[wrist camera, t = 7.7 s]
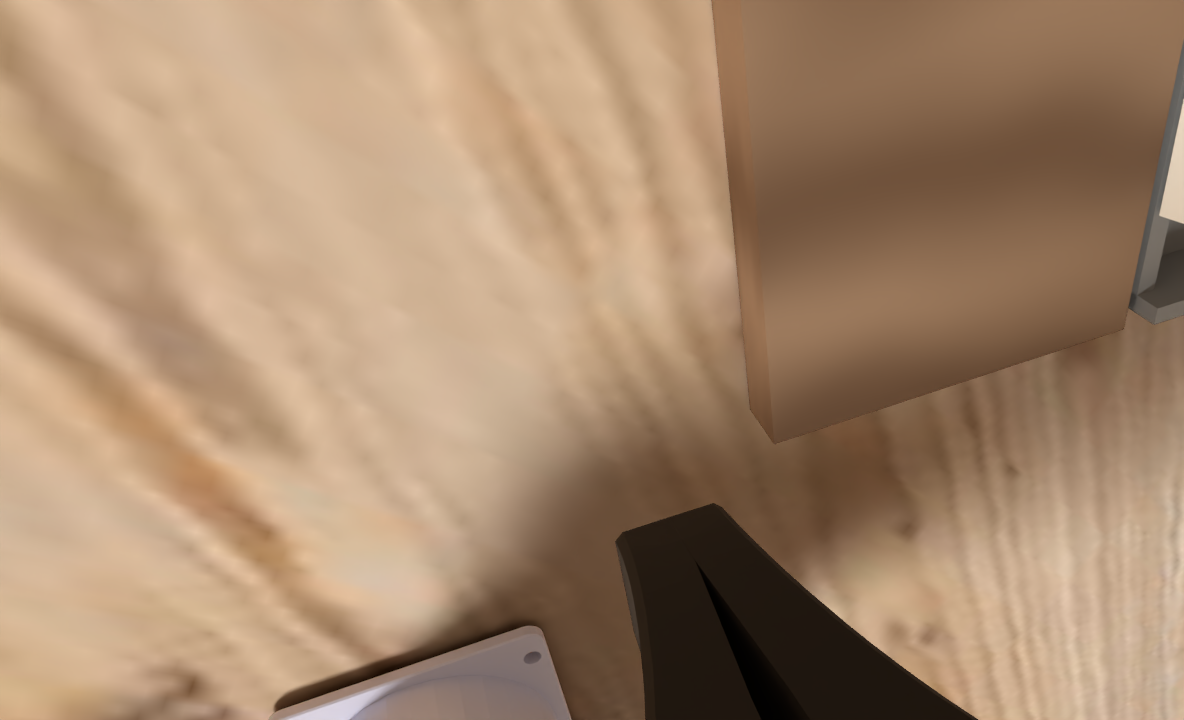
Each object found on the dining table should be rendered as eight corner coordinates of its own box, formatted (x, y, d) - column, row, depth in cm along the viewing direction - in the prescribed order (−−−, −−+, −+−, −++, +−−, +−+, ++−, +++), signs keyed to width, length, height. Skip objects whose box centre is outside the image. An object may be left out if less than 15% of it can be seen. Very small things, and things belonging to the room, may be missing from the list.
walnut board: (1084, 301, 25) (1123, 329, 24) (750, 409, 24) (774, 444, 23) (1160, -139, 19) (1218, -132, 18) (709, -21, 18) (740, -5, 16)
